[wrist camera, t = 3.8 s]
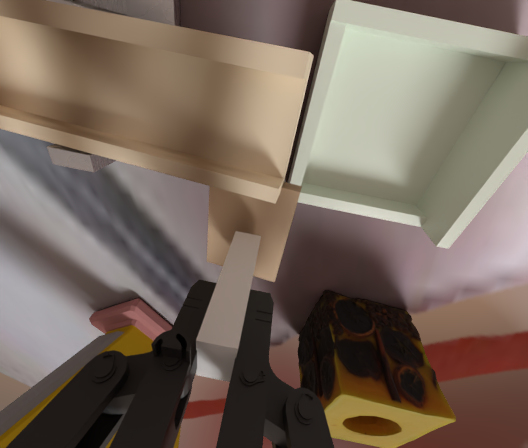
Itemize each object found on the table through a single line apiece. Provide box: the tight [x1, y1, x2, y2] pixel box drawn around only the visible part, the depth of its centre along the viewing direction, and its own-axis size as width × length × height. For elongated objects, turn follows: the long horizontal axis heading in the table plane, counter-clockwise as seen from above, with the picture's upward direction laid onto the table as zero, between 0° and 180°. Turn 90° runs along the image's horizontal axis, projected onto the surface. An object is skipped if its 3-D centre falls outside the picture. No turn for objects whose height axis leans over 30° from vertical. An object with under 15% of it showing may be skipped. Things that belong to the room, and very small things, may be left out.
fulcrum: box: [46, 0, 180, 172], centre depth 14 cm, size 8×10×6 cm
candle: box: [298, 291, 456, 448], centre depth 25 cm, size 10×10×10 cm
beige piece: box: [0, 0, 314, 282], centre depth 14 cm, size 25×13×4 cm, turn 82°
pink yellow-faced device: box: [0, 298, 181, 448], centre depth 27 cm, size 22×9×22 cm, turn 29°
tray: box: [287, 0, 528, 249], centre depth 14 cm, size 11×11×5 cm
